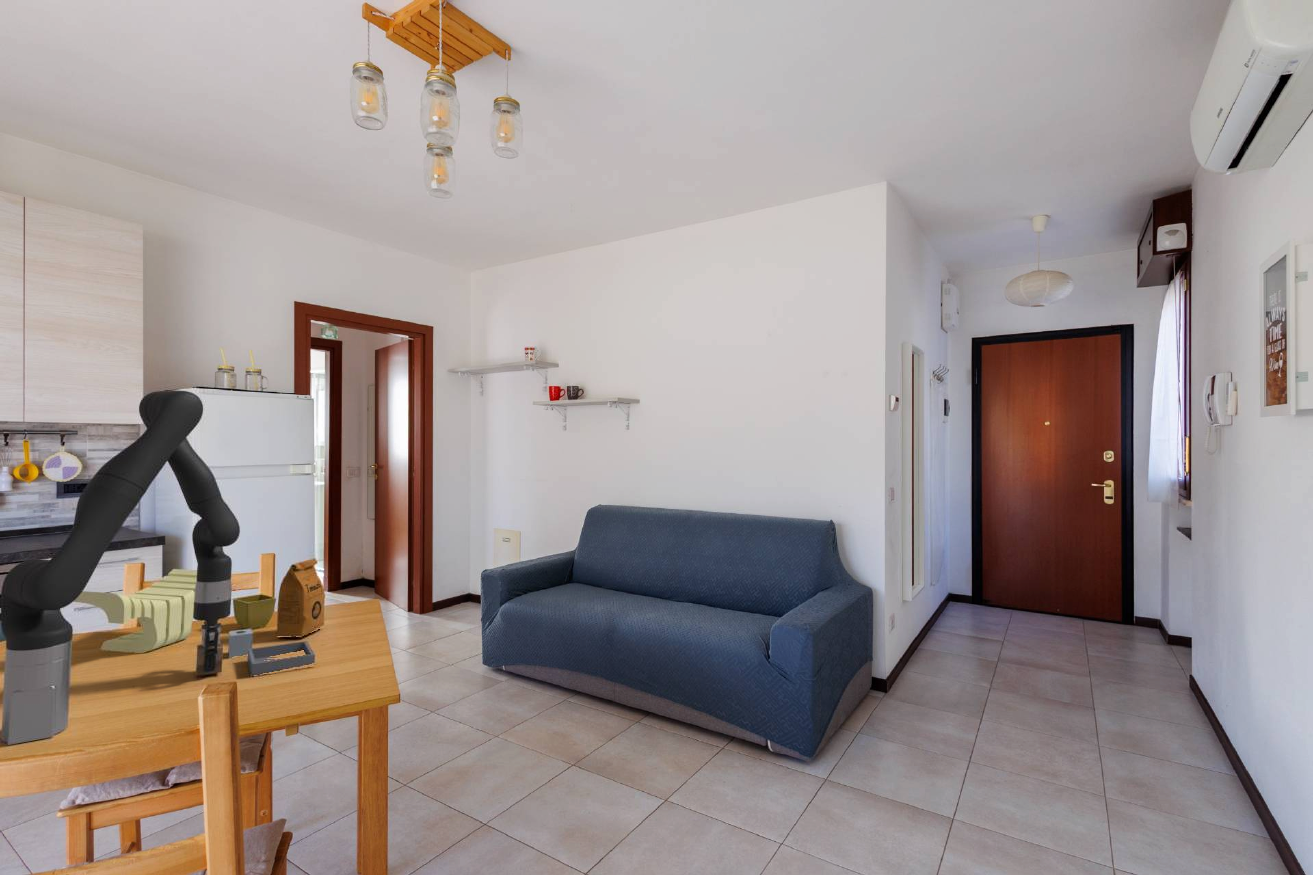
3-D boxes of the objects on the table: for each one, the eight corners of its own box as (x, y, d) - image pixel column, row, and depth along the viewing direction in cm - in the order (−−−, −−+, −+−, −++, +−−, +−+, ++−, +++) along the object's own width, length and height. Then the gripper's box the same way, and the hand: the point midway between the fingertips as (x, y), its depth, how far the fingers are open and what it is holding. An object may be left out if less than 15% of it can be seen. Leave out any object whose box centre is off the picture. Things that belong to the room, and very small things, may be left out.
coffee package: (329, 629, 193) (332, 558, 194) (301, 641, 181) (304, 565, 181) (300, 627, 195) (303, 556, 195) (270, 638, 182) (273, 563, 183)
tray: (314, 667, 161) (314, 654, 161) (251, 677, 153) (252, 664, 153) (306, 652, 172) (306, 640, 172) (247, 661, 163) (247, 648, 164)
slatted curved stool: (121, 664, 158) (125, 594, 159) (66, 659, 160) (70, 590, 161) (218, 631, 188) (221, 571, 188) (171, 627, 190) (173, 568, 190)
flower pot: (260, 621, 199) (262, 593, 199) (275, 626, 195) (277, 597, 195) (230, 627, 192) (231, 598, 192) (245, 632, 187) (246, 602, 187)
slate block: (251, 655, 168) (252, 633, 168) (229, 658, 165) (230, 635, 165) (250, 650, 172) (251, 628, 172) (228, 653, 169) (229, 631, 169)
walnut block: (221, 672, 153) (223, 645, 153) (196, 675, 150) (197, 649, 150) (220, 666, 157) (222, 640, 157) (196, 669, 154) (197, 643, 154)
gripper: (232, 602, 151) (228, 673, 150) (229, 590, 162) (226, 656, 162) (194, 606, 146) (190, 679, 146) (193, 593, 158) (189, 661, 157)
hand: (209, 667), depth 154 cm, fingers closed on walnut block, 5 cm apart
